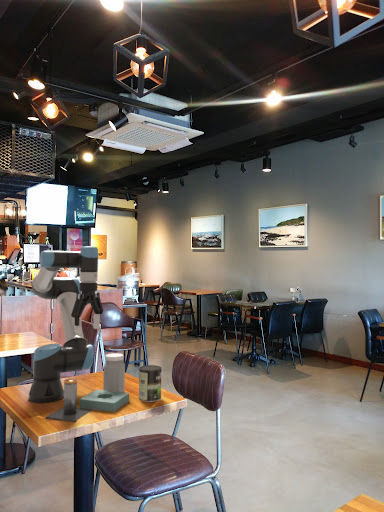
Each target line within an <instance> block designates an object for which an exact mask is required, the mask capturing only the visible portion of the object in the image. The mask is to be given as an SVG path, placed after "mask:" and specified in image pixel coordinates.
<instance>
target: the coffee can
mask: <svg viewBox="0 0 384 512" xmlns="http://www.w3.org/2000/svg"><path fill="white" fill-rule="evenodd" d="M162 370H163V369H162V366H159V365H154V364H153V365H151V364H149V365H141V366H139V367H138V400H140V401H141V402H146V403H147V402H148V403H150V402H151V403H152V402H160V401H161V400H162Z"/></svg>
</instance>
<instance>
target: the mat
mask: <svg viewBox="0 0 384 512" xmlns="http://www.w3.org/2000/svg"><path fill="white" fill-rule="evenodd" d="M92 411H94V409H86V408H80V407H77V413H76V414H74V415H64V406H63V407H61V408H59V409H57V410H55V411H53V412H52V413H50V414H48V415H47V416H45V419H48V420H56V421H61V422H63V421H64V422H69V423H70V422H71V423H76V422H77V421H78V420H79V419H81V418H82V417H84V416H85V415H87V414H89V413H90V412H92Z"/></svg>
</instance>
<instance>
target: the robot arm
mask: <svg viewBox="0 0 384 512" xmlns="http://www.w3.org/2000/svg"><path fill="white" fill-rule="evenodd" d="M39 264H40V265H39V266H40V268H39V271H38V273H37V275H36V276H34V278H33V279H32V281H31V290H32V292H33V293H34V294H35V295H36V296H37V297H39V298H41V299H44V300H55V302H56V304H57V305H58V306H59V307H60V314H61V322H62V326H63V327H62V328H63V333H64V340H65V342H64V343H63V344H62V345H61V343H48V344H45V345H40V346H38V347H36V348H35V350H34V351H33V358H32V360H33V367H32V369H33V370H32V371H33V373H32V374H33V375H32V377H33V378H32V383H31V386H30V389H29V392H28V400H29V402H31V403H40V404H43V403H44V404H45V403H50V402H51V403H52V402H56V401H59V400H61V399H64V385H63V383H62V379H61V374H62V373H70V372H71V373H72V372H79V371H80V372H83V371H86V370H87V371H88V370H90V369H91V367H92V366H93V364H94V357H95V356H94V355H95V353H94V352H95V351H94V350H95V348H94V345H93V344H90V343H89V341H88V339H86V338H85V337H84V332H83V328H82V326H83V325H82V320H83V318H82V317H81V316H82V315H83V312H84V310H85V308H86V307H87V306H88V305H89V304H90V306H91V307H92V310H93V312H94V313H93V329H95V330H100V329H101V325H100V322H101V315H103V312H104V308H103V305H102V300H101V296H100V292H99V291H98V276H99V275H98V274H99V273H98V269H99V249H98V247H97V246H81V247H80V250H79V251H77V250H76V251H71V250H65V251H64V250H43V251H41V252H40V255H39ZM59 269H79V278H77V277H72V276H66V277H65V276H64V277H63V276H61V277H58V276H57V277H56V275H57V274H58V272H59ZM97 291H98V292H97Z"/></svg>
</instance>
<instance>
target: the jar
mask: <svg viewBox="0 0 384 512" xmlns="http://www.w3.org/2000/svg"><path fill="white" fill-rule="evenodd" d="M124 357H125V356H124V354H122V353H121V352H120V353H119V352H114V353H107V354H105V357H104V358H105V361H104V362H105V363H104V365H103V382H102V383H103V388H102V390H105V391H115V392H124V393H125V390H126V388H125V382H126V381H125V379H126V373H125V371H126V364H125V363H124V361H125V360H124Z"/></svg>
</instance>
